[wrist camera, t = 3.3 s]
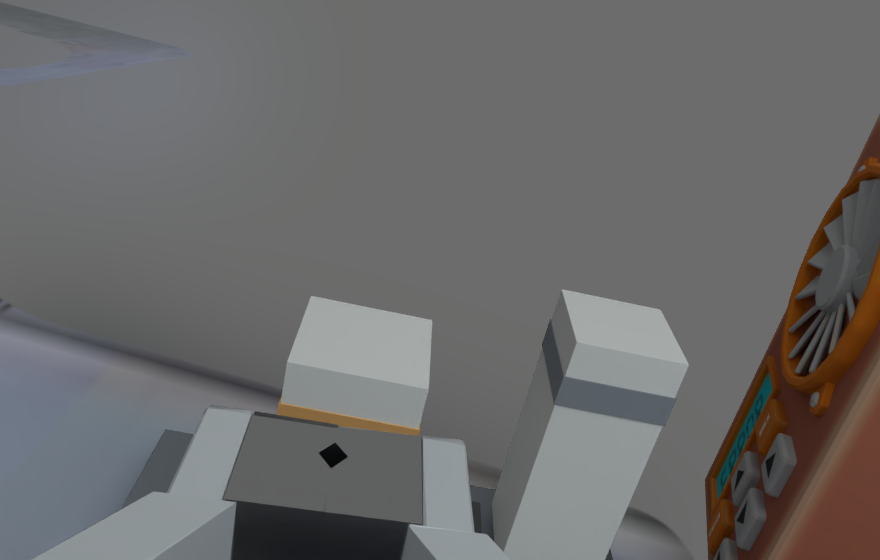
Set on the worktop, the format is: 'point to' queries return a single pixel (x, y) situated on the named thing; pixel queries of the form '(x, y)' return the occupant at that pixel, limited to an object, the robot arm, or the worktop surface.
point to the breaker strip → (559, 433)
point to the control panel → (813, 404)
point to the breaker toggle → (358, 368)
